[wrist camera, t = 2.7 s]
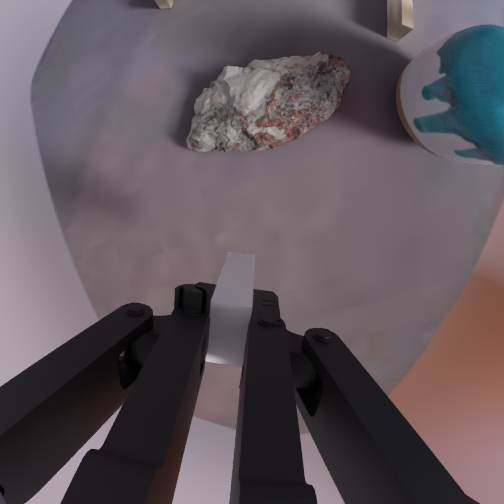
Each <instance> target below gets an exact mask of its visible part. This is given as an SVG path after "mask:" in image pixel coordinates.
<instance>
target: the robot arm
mask: <svg viewBox="0 0 504 504" xmlns="http://www.w3.org/2000/svg"><path fill="white" fill-rule="evenodd" d="M254 268H255V254H247V253H240V252H233V251H228V254H227V257H226V260H225V262H224V265H223V268H222V271H221V274H220V277H219V279H218V282H217V285H215V284H208V283H202V282H199V283H197V284H184V285H180V286H178V287H176V288H175V302H174V310H173V312H172V314H171V315H167V316H153V310H152V309H151V308H150V307H149V306H147V305H145V304H141V303H130V304H125V305H123V306H121V307H119V308H118V309H116V310H115V311H113V312H112V313H110V314H109V315H107V316H105V317H104V318H102V319H101V320H99V321H98V322H96V323H95V324H93V325H92V326H90V327H89V328H87V329H86V330H84V331H83V332H81V333H79V334H78V335H76V336H75V337H73V338H72V339H70V340H69V341H67V342H66V343H64V344H63V345H61V346H60V347H58V348H57V349H55V350H54V351H52V352H51V353H49V354H48V355H47V356H45V357H43V358H42V359H41V360H39V361H37V362H36V363H34V364H33V365H31V366H30V367H28V368H27V369H26V370H24V371H23V372H21V373H20V374H18V375H17V376H16V377H14V378H12V379H11V380H10V381H8V382H7V383H5V384H4V385H2V386H1V387H0V504H24V503H26V502H27V501H28V500H30V499H31V498H32V497H33V496H34V495H35V494H36V493H37V492H38V491H40V489H41V488H42V487H44V485H45V484H46V483H47V482H48V481H49V480H50V479H51V478H52V477H53V476H54V475H55V474H56V473H57V472H58V471H59V470H60V469H61V468H62V467H63V466H64V465H65V464H66V463H67V462H68V461H69V460H70V459H71V458H72V457H73V456H74V455H75V454H76V452H77V451H78V450H79V449H80V448H81V447H82V446H83V445H84V444H85V443H86V442H87V441H88V440H89V439H90V438H91V437H92V436H93V435H94V434H95V433H96V432H97V430H99V429H100V427H101V426H102V425H103V424H104V423H105V422H106V421H107V420H108V419H109V418H110V417H111V416H112V415H113V414H114V413H115V412H116V411H117V410H118V409H119V407H120V406H121V405H122V404H123V405H122V407H121V410H120V412H119V413H118V415H117V418H116V419H115V422H114V423H113V426H112V427H111V430H110V431H109V433H108V436H107V438H106V440H105V442H104V444H103V445H102V447H101V448H100V449H99V450H96V449H91V450H89V451H88V452H87V453H86V454H85V456H84V457H83V459H82V461H81V463H80V465H79V467H78V469H77V471H76V473H75V475H74V477H73V479H72V481H71V483H70V485H69V487H68V489H67V491H66V493H65V495H64V498H63V500H62V502H61V504H172V501H173V497H174V492H175V488H176V484H177V479H178V475H179V471H180V466H181V462H182V458H183V454H184V450H185V445H186V441H187V437H188V433H189V429H190V425H191V420H192V417H193V413H194V409H195V405H196V400H197V396H198V392H199V388H200V384H201V380H202V377H203V373H204V368H205V358H206V361H207V362H213V363H220V364H227V365H234V366H241V367H243V368H242V374H241V380H240V386H239V388H240V395H239V406H238V417H237V427H236V438H235V449H234V460H233V470H232V481H231V492H230V502H229V504H317V498H316V494H315V490H314V488H313V486H312V485H309V484H307V483H306V481H305V476H304V467H303V459H302V450H301V441H300V433H299V424H298V416H297V408H296V405H297V407H298V409H299V411H300V413H301V415H302V417H303V419H304V421H305V423H306V426H307V428H308V430H309V432H310V434H311V436H312V438H313V440H314V442H315V444H316V446H317V448H318V450H319V452H320V454H321V456H322V458H323V460H324V463H325V465H326V466H327V469H328V471H329V472H330V475H331V476H332V478H333V480H334V483H335V485H336V487H337V488H338V491H339V493H340V494H341V496H342V498H343V500H344V502H345V504H480V503H478V502H476V501H475V500H473V499H472V498H470V497H469V496H467V495H466V494H465V493H464V492H463V491H462V489H461V488H460V487H459V485H458V484H457V483H456V482H455V480H454V479H453V478H452V476H451V475H450V474H449V473H448V471H447V470H446V469H445V468H444V466H443V465H442V464H441V463H440V461H439V460H438V459H437V458H436V456H435V455H434V454H433V452H432V451H431V450H430V449H429V447H428V446H427V445H426V444H425V442H424V441H423V440H422V439H421V437H420V436H419V435H418V434H417V433H416V431H415V430H414V429H413V427H412V426H411V425H410V424H409V422H408V421H407V420H406V419H405V417H404V416H403V415H402V414H401V413H400V411H399V410H398V409H397V408H396V406H395V405H394V404H393V403H392V401H391V400H390V399H389V398H388V396H387V395H386V394H385V393H384V392H383V390H382V389H381V388H380V387H379V385H378V384H377V383H376V382H375V380H374V379H373V378H372V377H371V376H370V374H369V373H368V372H367V371H366V369H365V368H364V367H363V366H362V365H361V363H360V362H359V361H358V360H357V358H356V357H355V356H354V355H353V354H352V352H351V351H350V350H349V349H348V348H347V346H346V345H345V344H344V343H343V341H342V340H341V339H340V338H339V337H338V336H337V335H336V334H335V333H333V332H331V331H329V330H328V329H324V328H312V329H309V330H307V331H306V332H305V335H304V336H301V335H298V334H295V333H292V332H290V331H288V330H287V329H286V325H285V323H284V321H283V320H282V319H281V318H280V310H279V303H278V296H277V295H276V294H275V293H274V292H271V291H264V290H256V289H253V287H254ZM121 354H122V355H121ZM120 355H121V356H120Z"/></svg>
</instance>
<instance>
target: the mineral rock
mask: <svg viewBox="0 0 504 504" xmlns="http://www.w3.org/2000/svg"><path fill="white" fill-rule="evenodd" d="M350 75H351V72H350V69H349V67H348V66H347V65H346V64H345V62H344V61H343V59H341V58H340V57H335V56H333V55H329V54H328V53H321V52H318V53H316V54H315V55H314V56H311V55H308V56H305V57H301V56H290V57H289V58H288V57H281V58H278V59H269V60H257V59H255V60H253V61H251V62H250V63H249V64H247V65H246V66H245V67H244V68H242V67H238V66H226V67H224V68H223V71H222V73H221V74H220V75H219V76H218V77H217V80H214V81H212V84H211V85H210V87H209V88H204V89H203V93H202V94H201V95H200V96H199V97H198V98H197V99H196V102H195V104H194V110H195V114H196V115H195V116H194V117H193V119H192V121H191V123H192V125H191V131H190V134H189V136H188V137H187V139H186V141H187V143H186V146H187V147H188V148H190V149H192V150H194V151H196V152H208V151H212V150H215V149H217V150H219V151H221V150H224V151H225V152H228V151H230V150H237V151H241V152H248V151H250V150H256V151H262V150H264V149H273V148H275V147H276V146H278V145H282V144H284V143H288V142H291V141H293V140H295V139H298V138H300V137H301V136H302V135H303V134H304V133H306V132H307V131H308V130H310V129H312V128H314V127H315V126H316V125H319V124H320V123H321V122H323V121H325V120H327V119H328V118H329V117H330V115H331V114H332V113H333V112H334V111H335V110H336V109H337V108H338V106H339V105H340V104H341V100H342V95H343V94H344V89H345V87H346V86H347V84H348V81H349V78H350Z"/></svg>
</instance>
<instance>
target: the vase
mask: <svg viewBox="0 0 504 504" xmlns="http://www.w3.org/2000/svg"><path fill="white" fill-rule="evenodd" d="M396 106H397V111H398V114H399V117H400V120H401V122H402V124H403V126H404V128H405V129H406V131H407V132H408V134H409V135H410V137H411V138H412V139H413V140H414V141H415V142H416V143H417V144H418V145H420V146H421V147H422V148H423V149H425V150H427V151H428V152H430V153H432V154H434V155H437V156H439V157H442V158H446V159H451V160H455V161H460V162H467V163H475V164H487V165H504V27H501V26H496V25H479V26H474V27H470V28H467V29H465V30H462V31H459V32H457V33H454V34H452V35H450V36H448V37H446V38H444V39H442V40H440V41H438V42H437V43H435V44H433V45H432V46H430V47H429V48H427V49H426V50H424V51H423V52H422V53H420V54H419V55H418V56H417V57H415V58H414V59H413V60H412V61H411V62H410V63H409V64H408V65H407V66H406V67H405V68H404V70H403V71H402V73H401V75H400V77H399V79H398V83H397V87H396Z"/></svg>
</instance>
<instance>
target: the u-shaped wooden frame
mask: <svg viewBox="0 0 504 504" xmlns="http://www.w3.org/2000/svg"><path fill="white" fill-rule="evenodd" d="M154 1H155V2H156V3H157V5H158V6H159V7H160V9H168V8H172V5H173V1H174V0H154ZM413 29H414V28H413V4H412V0H387V38H388V39H391V40H394V41H399V40H400V39H401V38H402V37H404V36H405V35H406V34H408V33H409V32H410V31H411V30H413Z"/></svg>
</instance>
